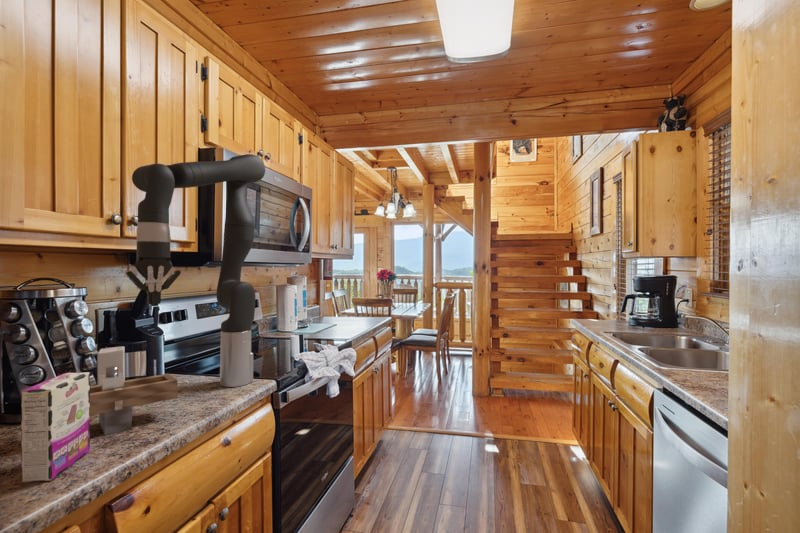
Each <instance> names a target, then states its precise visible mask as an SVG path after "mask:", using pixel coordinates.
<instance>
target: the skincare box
mask: <svg viewBox="0 0 800 533" xmlns="http://www.w3.org/2000/svg"><path fill="white" fill-rule="evenodd" d="M125 349H126V348H125V346H114V347H104V348H100V349H98V352H97V385H100V375H106V367H109V366H119V369H118V373H120V372H121V373H122V374H123V375H124V381H126V360H125V359H126V352H125V351H126V350H125Z"/></svg>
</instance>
